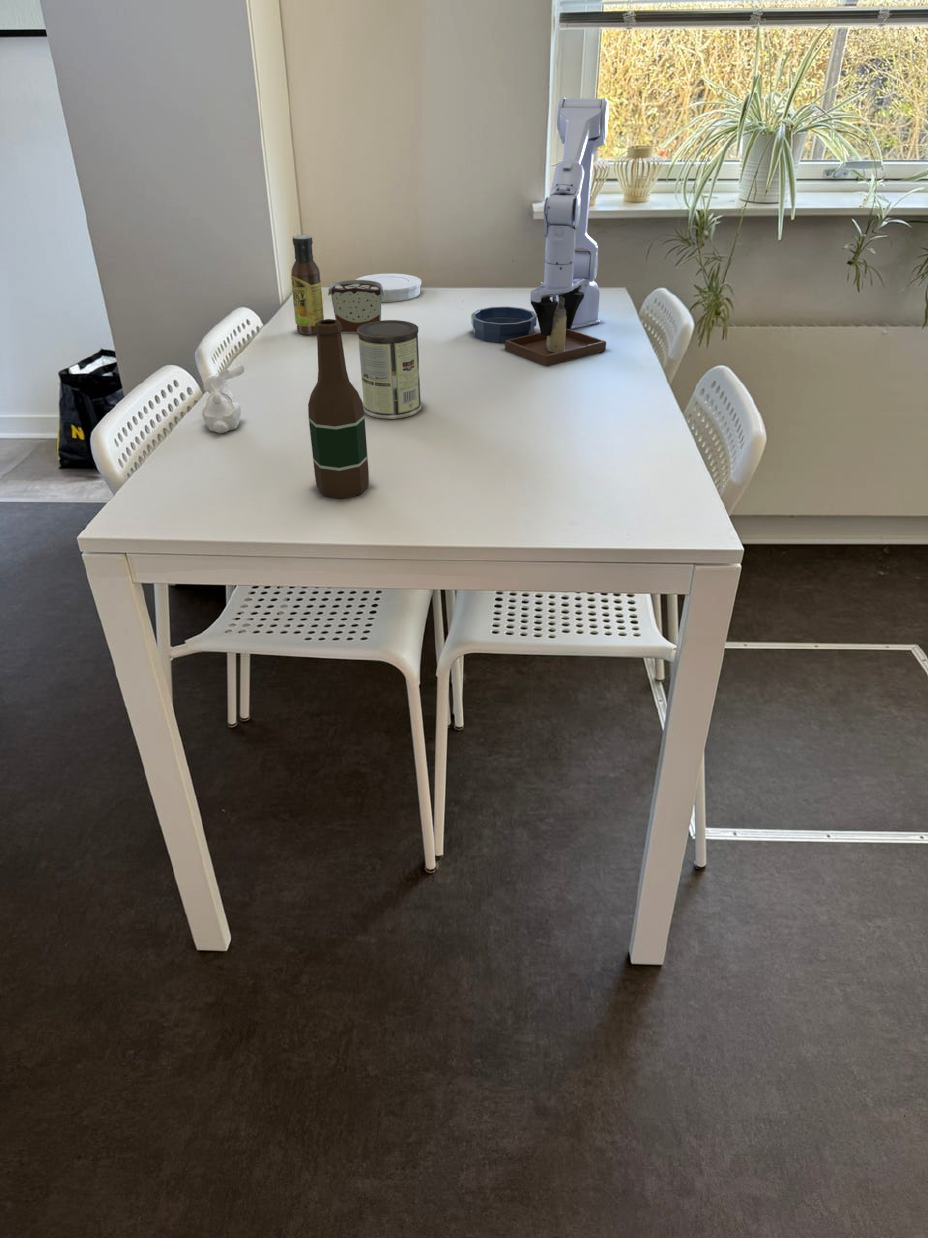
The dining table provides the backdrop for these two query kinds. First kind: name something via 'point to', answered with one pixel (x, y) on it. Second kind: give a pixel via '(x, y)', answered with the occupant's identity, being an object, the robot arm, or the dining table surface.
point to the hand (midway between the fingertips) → (556, 331)
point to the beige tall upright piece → (558, 328)
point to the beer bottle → (336, 420)
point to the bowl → (502, 323)
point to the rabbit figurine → (221, 402)
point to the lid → (396, 286)
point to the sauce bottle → (306, 286)
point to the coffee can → (390, 368)
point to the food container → (356, 303)
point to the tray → (537, 352)
